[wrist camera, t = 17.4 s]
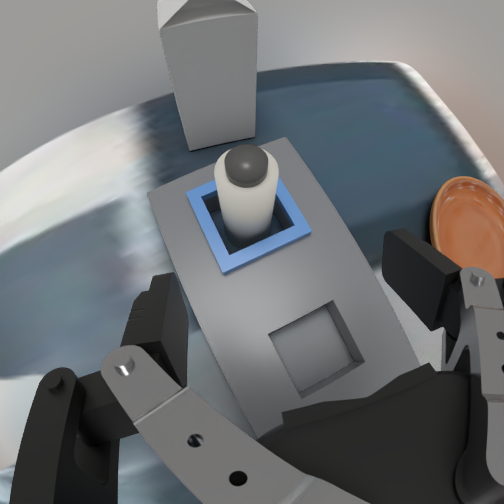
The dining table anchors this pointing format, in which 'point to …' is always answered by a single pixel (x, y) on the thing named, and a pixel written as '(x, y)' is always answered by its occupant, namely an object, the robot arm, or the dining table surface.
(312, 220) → the block with square holes
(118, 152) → the dining table surface
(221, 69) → the milk carton
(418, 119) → the dining table surface
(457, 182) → the saucer
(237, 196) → the capped white bottle
